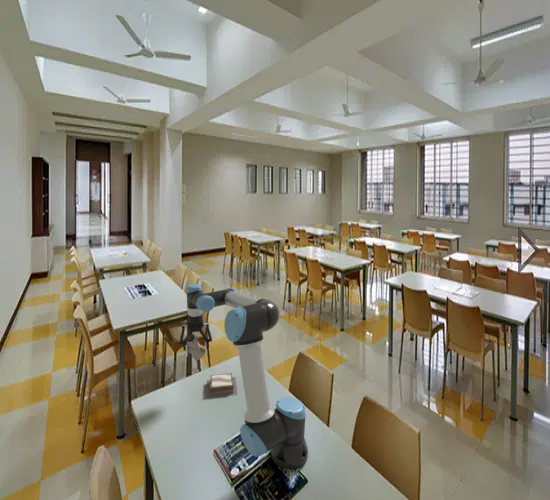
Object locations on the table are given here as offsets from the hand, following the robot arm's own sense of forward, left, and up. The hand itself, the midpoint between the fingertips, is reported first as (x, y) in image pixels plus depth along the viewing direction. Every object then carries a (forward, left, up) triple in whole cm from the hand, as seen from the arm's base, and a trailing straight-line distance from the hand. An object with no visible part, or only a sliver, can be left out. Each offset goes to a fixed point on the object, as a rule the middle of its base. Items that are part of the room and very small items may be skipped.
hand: (196, 354), depth 163 cm
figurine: (0, 0, -3) cm, 3 cm away
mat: (0, -13, -21) cm, 25 cm away
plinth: (0, -13, -21) cm, 24 cm away
